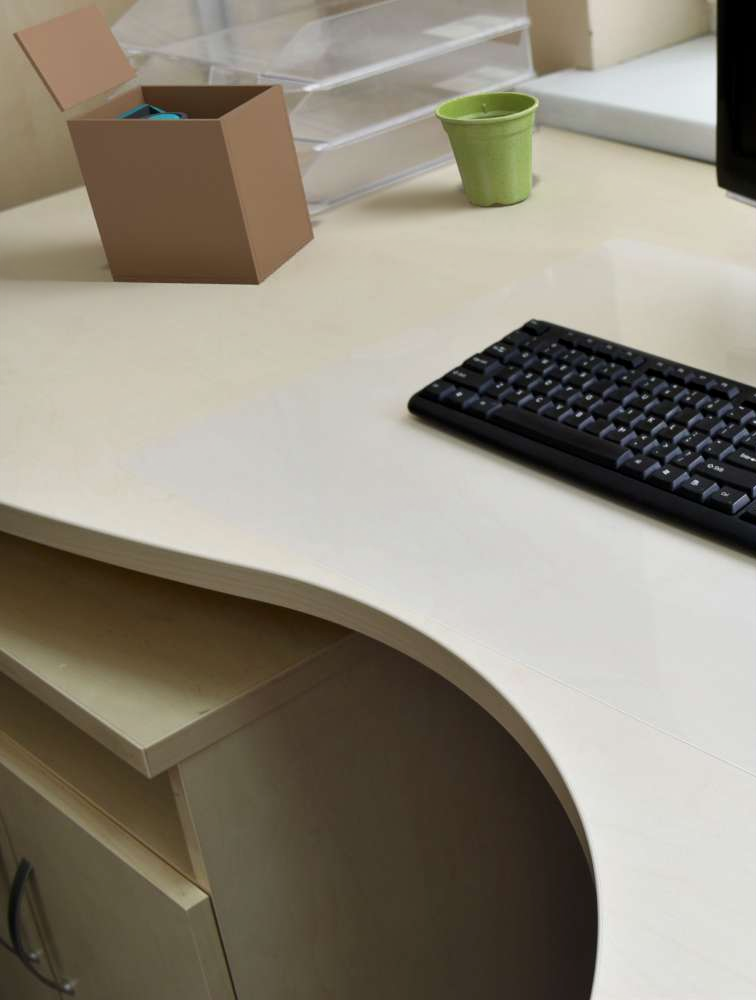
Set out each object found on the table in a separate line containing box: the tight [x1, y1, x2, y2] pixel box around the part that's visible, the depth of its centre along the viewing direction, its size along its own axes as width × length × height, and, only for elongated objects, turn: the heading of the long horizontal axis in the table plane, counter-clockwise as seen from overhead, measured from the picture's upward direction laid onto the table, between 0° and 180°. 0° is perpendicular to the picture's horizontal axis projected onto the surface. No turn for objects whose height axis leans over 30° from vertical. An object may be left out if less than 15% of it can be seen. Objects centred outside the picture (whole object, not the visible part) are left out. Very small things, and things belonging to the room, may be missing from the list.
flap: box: [12, 3, 138, 113], centre depth 111 cm, size 6×11×1 cm
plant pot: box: [434, 91, 540, 207], centre depth 128 cm, size 9×9×9 cm
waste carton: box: [66, 83, 315, 285], centre depth 115 cm, size 13×11×14 cm
